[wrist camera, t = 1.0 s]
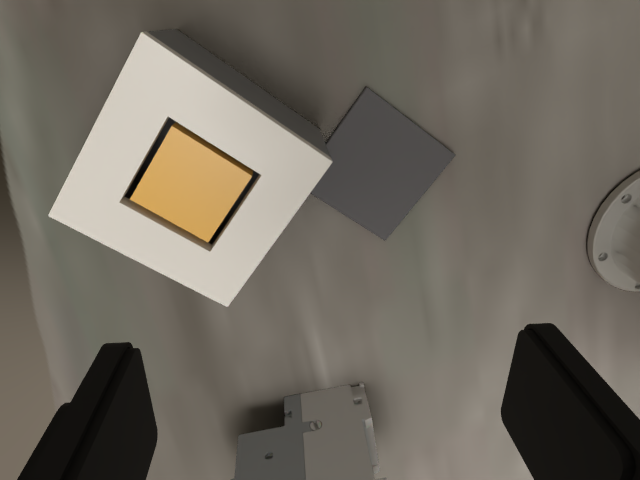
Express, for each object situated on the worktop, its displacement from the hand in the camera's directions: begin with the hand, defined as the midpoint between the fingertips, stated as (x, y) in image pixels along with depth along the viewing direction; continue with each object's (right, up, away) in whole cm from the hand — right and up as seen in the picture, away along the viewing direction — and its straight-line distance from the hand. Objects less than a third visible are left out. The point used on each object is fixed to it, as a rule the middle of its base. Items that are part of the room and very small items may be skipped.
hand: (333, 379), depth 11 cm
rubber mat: (+4, +9, +25) cm, 27 cm away
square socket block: (-9, +10, +23) cm, 27 cm away
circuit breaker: (-2, -16, +37) cm, 40 cm away
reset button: (-8, +9, +20) cm, 23 cm away
